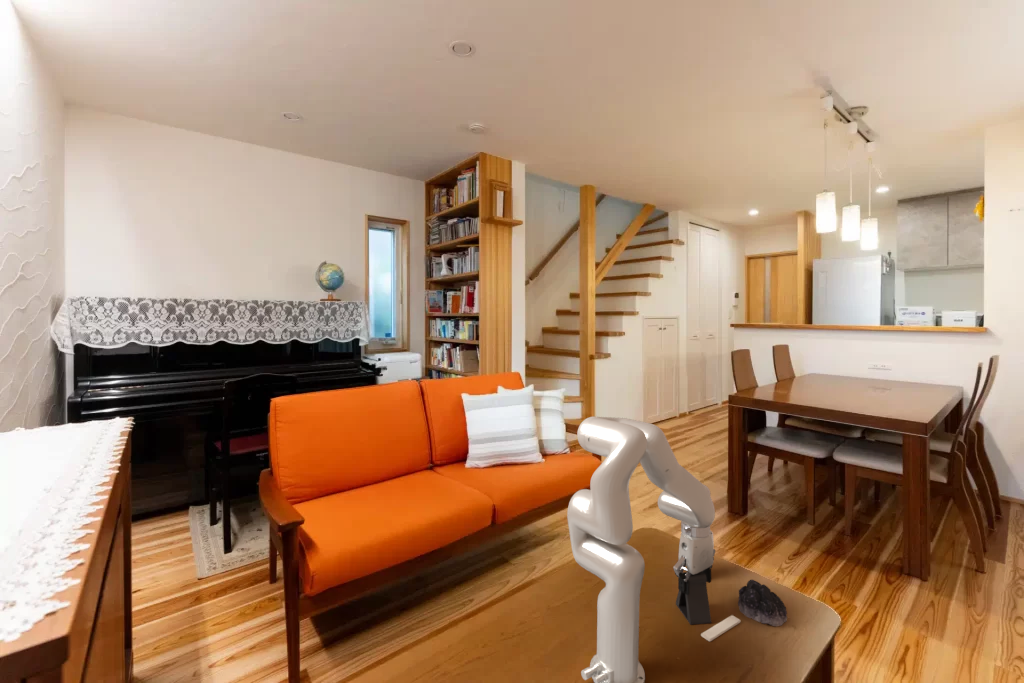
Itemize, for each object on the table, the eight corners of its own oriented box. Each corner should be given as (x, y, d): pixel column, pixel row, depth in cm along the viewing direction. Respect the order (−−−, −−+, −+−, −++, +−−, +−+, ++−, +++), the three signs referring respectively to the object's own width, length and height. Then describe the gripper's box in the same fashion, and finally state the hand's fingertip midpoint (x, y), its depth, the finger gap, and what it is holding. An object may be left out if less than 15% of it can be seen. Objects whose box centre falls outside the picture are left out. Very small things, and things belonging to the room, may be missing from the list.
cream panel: (709, 641, 116) (709, 639, 116) (700, 635, 118) (701, 633, 118) (740, 622, 123) (740, 620, 123) (731, 616, 125) (731, 614, 125)
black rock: (768, 598, 135) (765, 565, 135) (801, 625, 121) (798, 588, 121) (726, 605, 133) (723, 571, 134) (755, 633, 120) (752, 595, 120)
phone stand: (711, 623, 122) (712, 581, 122) (690, 625, 122) (691, 582, 121) (695, 602, 131) (696, 563, 131) (675, 604, 131) (676, 564, 130)
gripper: (687, 542, 118) (686, 604, 119) (726, 524, 127) (725, 582, 128) (664, 531, 124) (663, 589, 125) (702, 514, 133) (701, 569, 134)
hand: (694, 586), depth 127 cm, fingers open, 9 cm apart
